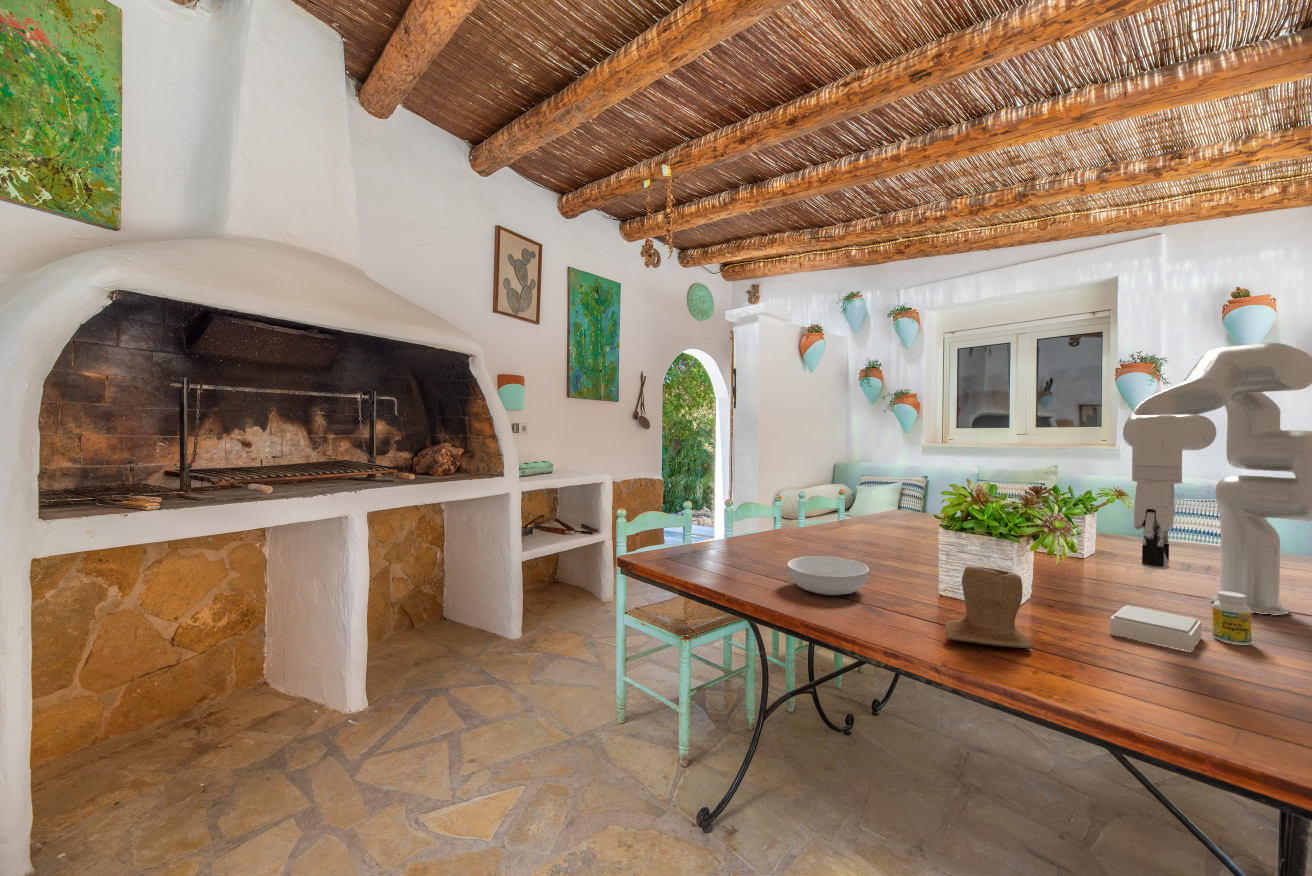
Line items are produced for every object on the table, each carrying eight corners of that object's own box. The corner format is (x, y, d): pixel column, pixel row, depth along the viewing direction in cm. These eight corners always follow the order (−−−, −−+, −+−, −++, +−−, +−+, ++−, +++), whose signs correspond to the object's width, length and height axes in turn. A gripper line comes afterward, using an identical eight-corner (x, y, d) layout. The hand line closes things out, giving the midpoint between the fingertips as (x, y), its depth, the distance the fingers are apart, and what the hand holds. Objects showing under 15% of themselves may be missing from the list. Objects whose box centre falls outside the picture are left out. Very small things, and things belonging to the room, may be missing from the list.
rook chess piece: (1139, 563, 113) (1140, 525, 113) (1168, 566, 110) (1169, 528, 110) (1141, 567, 110) (1141, 528, 110) (1171, 571, 107) (1171, 531, 107)
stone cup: (1018, 634, 111) (1018, 563, 111) (1037, 657, 100) (1038, 578, 100) (937, 626, 116) (937, 557, 116) (946, 646, 105) (947, 571, 105)
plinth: (1124, 621, 119) (1124, 604, 118) (1201, 638, 109) (1201, 618, 109) (1110, 634, 111) (1110, 615, 111) (1191, 653, 102) (1191, 632, 102)
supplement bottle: (1244, 639, 109) (1244, 592, 109) (1256, 648, 104) (1257, 599, 104) (1207, 634, 111) (1208, 588, 111) (1218, 643, 107) (1219, 595, 107)
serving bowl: (771, 585, 148) (771, 560, 148) (829, 576, 157) (829, 553, 157) (824, 607, 129) (824, 579, 129) (887, 596, 138) (887, 569, 138)
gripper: (1141, 472, 118) (1140, 554, 118) (1122, 475, 108) (1121, 566, 108) (1189, 474, 112) (1188, 561, 112) (1173, 478, 102) (1172, 574, 102)
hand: (1155, 562), depth 110 cm, fingers closed on rook chess piece, 4 cm apart
